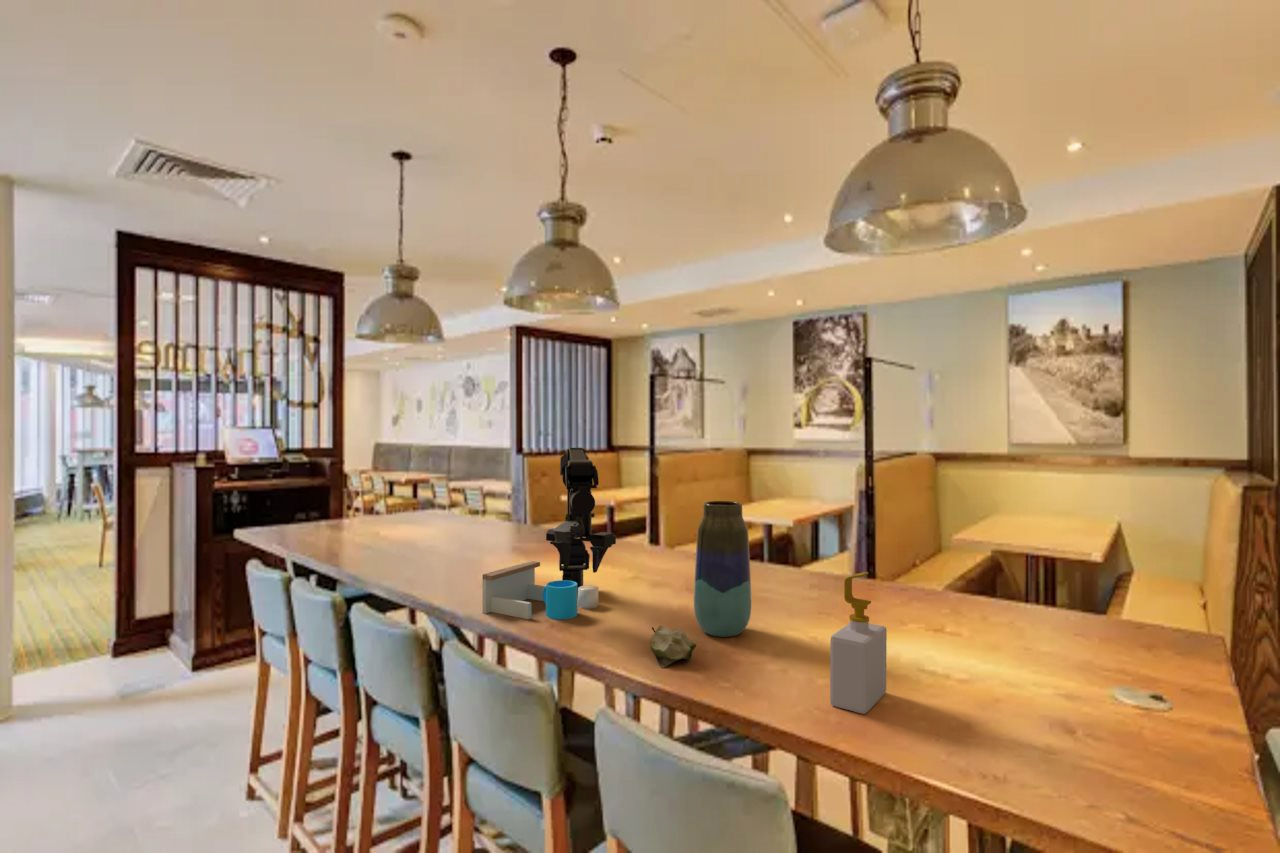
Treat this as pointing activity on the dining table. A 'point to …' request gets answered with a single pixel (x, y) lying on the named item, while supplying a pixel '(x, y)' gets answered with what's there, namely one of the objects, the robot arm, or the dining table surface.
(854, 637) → the soap bottle
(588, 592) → the cream rounded cylinder
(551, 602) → the mug
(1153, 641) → the dining table surface
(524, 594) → the counter bay
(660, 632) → the fruit
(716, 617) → the vase
